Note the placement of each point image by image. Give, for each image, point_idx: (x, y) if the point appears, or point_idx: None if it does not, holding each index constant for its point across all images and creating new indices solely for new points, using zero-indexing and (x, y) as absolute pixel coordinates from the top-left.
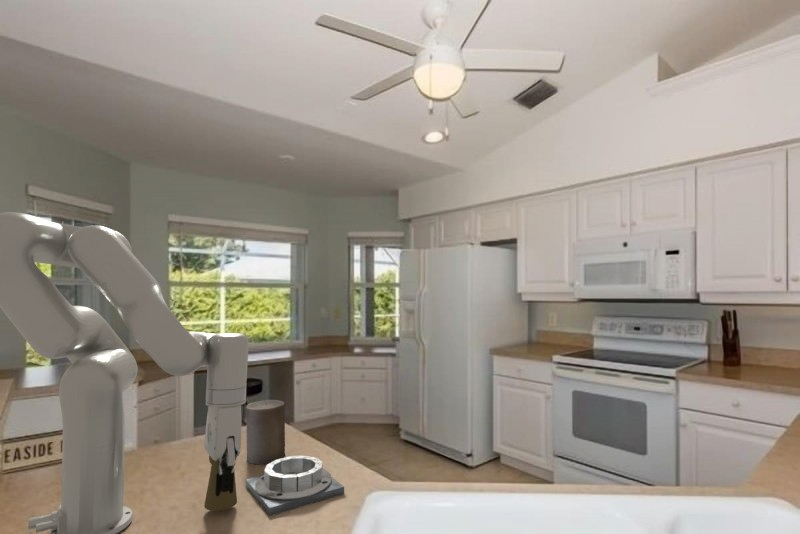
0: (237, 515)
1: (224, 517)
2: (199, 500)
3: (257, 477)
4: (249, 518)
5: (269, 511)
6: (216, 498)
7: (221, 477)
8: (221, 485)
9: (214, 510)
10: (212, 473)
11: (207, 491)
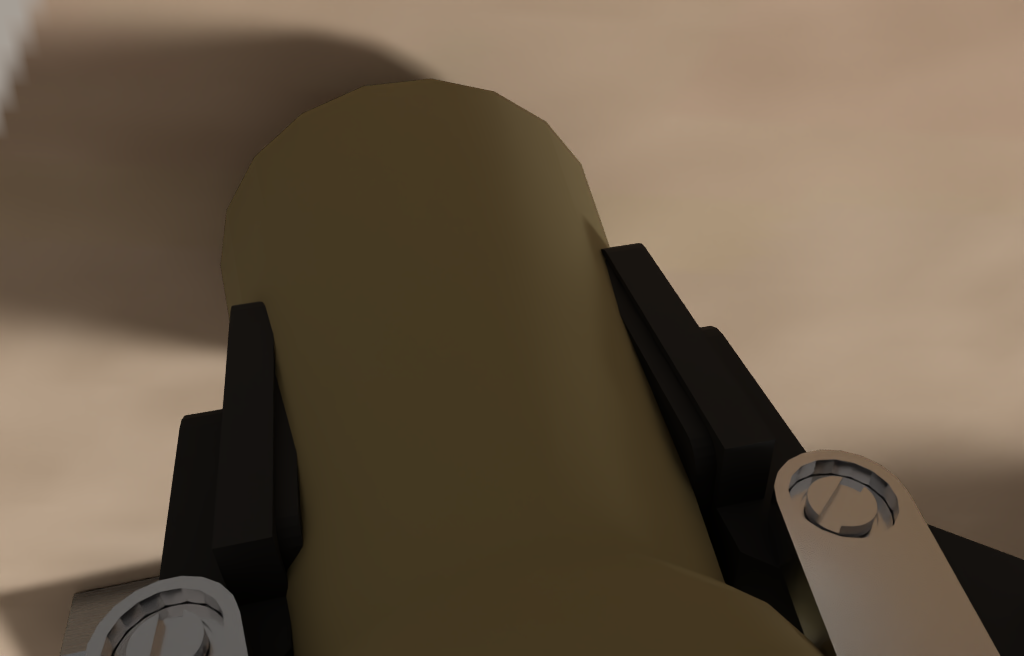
0: (210, 366)
1: (218, 252)
2: (806, 27)
3: None
4: (92, 457)
5: (70, 626)
6: (243, 284)
7: (207, 567)
8: (190, 469)
9: (242, 190)
10: (410, 457)
11: (424, 200)
